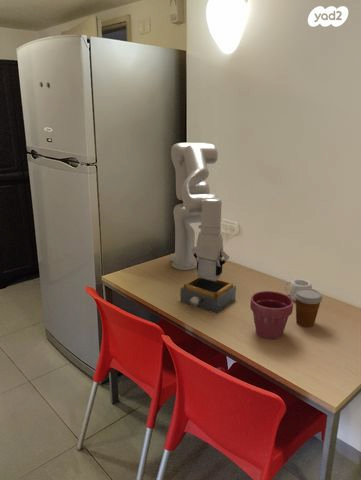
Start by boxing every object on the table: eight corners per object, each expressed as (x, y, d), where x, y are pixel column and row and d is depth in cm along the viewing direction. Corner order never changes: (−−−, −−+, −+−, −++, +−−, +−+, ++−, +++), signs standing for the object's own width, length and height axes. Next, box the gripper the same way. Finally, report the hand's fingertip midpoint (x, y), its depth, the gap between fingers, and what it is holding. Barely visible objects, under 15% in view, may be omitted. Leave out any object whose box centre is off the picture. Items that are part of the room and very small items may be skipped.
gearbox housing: (175, 304, 156) (175, 287, 154) (200, 289, 171) (201, 273, 168) (211, 317, 147) (212, 299, 145) (235, 299, 161) (236, 282, 159)
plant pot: (260, 318, 147) (263, 286, 143) (296, 330, 139) (300, 297, 135) (240, 333, 136) (243, 300, 133) (278, 348, 128) (281, 313, 124)
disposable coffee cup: (288, 325, 142) (292, 295, 138) (294, 314, 150) (298, 285, 146) (316, 332, 138) (320, 301, 134) (320, 320, 146) (324, 290, 142)
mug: (314, 300, 161) (316, 283, 159) (302, 306, 156) (304, 288, 154) (290, 290, 170) (292, 273, 168) (277, 295, 165) (279, 278, 163)
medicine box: (220, 278, 157) (221, 257, 154) (214, 282, 153) (216, 261, 151) (202, 273, 161) (203, 254, 158) (197, 277, 157) (198, 257, 155)
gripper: (186, 228, 153) (185, 270, 158) (225, 236, 143) (223, 280, 149) (197, 224, 159) (196, 264, 164) (235, 231, 149) (233, 274, 154)
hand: (209, 272), depth 156 cm, fingers closed on medicine box, 8 cm apart
